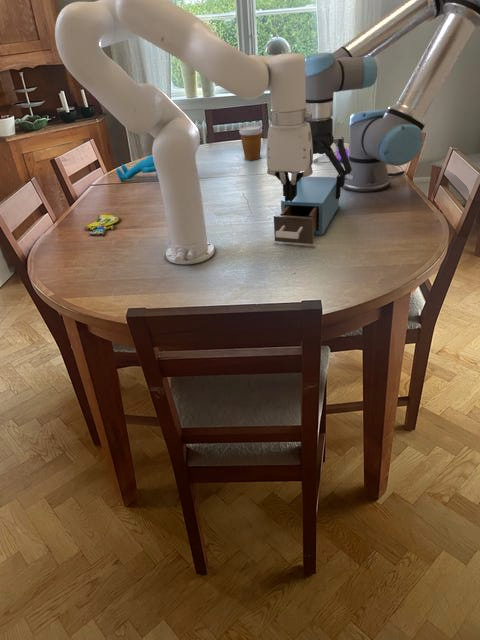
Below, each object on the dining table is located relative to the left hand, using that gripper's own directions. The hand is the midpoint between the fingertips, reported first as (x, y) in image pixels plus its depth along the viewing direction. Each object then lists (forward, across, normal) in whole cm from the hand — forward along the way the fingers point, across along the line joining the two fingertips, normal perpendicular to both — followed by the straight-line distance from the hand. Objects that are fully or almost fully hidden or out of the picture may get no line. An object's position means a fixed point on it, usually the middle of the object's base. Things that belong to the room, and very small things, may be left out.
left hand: (290, 199), depth 115 cm
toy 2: (+13, +68, -51) cm, 86 cm away
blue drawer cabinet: (+13, 0, -21) cm, 25 cm away
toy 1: (+13, +61, -5) cm, 63 cm away
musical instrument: (+13, +8, -87) cm, 88 cm away
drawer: (+12, 0, -9) cm, 15 cm away
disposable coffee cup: (+13, +40, -83) cm, 93 cm away
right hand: (+9, 0, -29) cm, 30 cm away
